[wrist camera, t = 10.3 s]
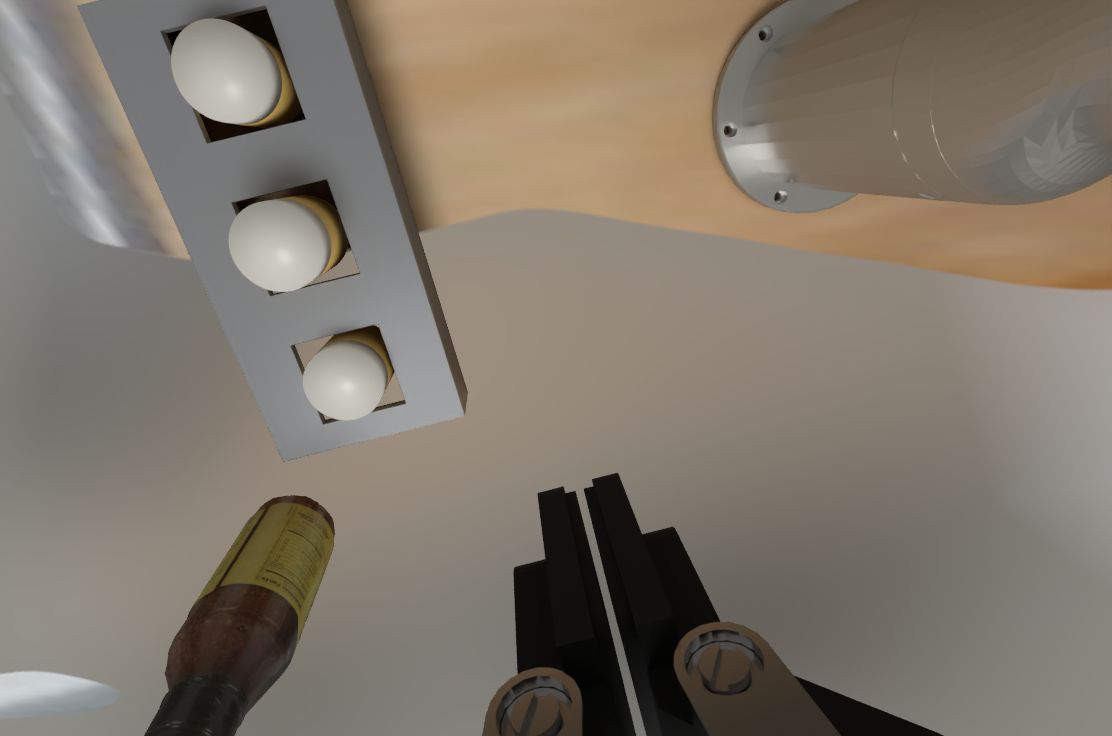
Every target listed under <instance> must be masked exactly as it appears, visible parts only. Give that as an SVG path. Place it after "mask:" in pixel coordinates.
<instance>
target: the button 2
mask: <svg viewBox="0 0 1112 736" xmlns="http://www.w3.org/2000/svg"><path fill="white" fill-rule="evenodd" d="M393 373H394V368H393V365H392V362H391V359H390V356H389V354H388V351H387V348H386V345H385V342H384V339H383V337H382V334H381V331H380V328H379V327H377V326H374V325H371V326H367V327H363V328H359V329H355V330H351V331H347V332H343V333H339V334H335V335H334V336H333V337H332V338H331V339H330V340H329V341H328V342H327V343H326V344H325V345H324V346H323V347H322V348H321V350H320V351H319V352H318V353H317V354H316V355H315V356H314V357H313V358H312V359H311V360H310V362H309V363H308V364H307V366H306V368H305V370H304V374H303V388H304V392H305V395H306V397H307V399H308V400H309V402H310V403H311V404H312V405H313V407H315V408H316V409H317V410H318V411H319V412H321V413H322V414H324V415H326V416H328V417H330V418H334V419H338V420H355V419H359V418H362V417H364V416H366V415H368V414H369V413H371V412H372V411H373V410H374V409H375V408H376V407H377V405H378V404H379V402H380V400H381V398H382V396H383V394H384V392H385V390H386V387H387V385H388V384H389V382H390V380H391V377H392V375H393Z"/></svg>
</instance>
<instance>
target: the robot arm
mask: <svg viewBox="0 0 1112 736" xmlns="http://www.w3.org/2000/svg"><path fill="white" fill-rule="evenodd" d="M759 32H761V33H762V34H763V39H762V41H761V40H760V38H759ZM712 121H713V133H714V141H715V144H716V148H717V152H718V156H719V158H720V160H721V162H722V164H723V167H724V169H725V171H726V173H727V174H728V176H729V177H730V178H731V180H732V181H733V182H734V184H735V185H736V186H737V187H738V188H739V189H740V190H741V191H742V192H743V193H744V194H746V195H747V196H748V197H749V198H750V199H752V200H754V201H756V202H758V203H760V204H761V205H763V206H765V207H768V208H772V209H776V210H779V211H784V212H792V213H810V212H817V211H821V210H825V209H829V208H832V207H835V206H837V205H839V204H841V203H843V202H845V201H848V200H849V199H851V198H852V197H854V196H855V195H857V194H858V193H861V194H872V195H883V196H895V197H906V198H917V199H929V200H940V201H952V202H964V203H976V204H989V205H1023V204H1032V203H1039V202H1044V201H1048V200H1052V199H1056V198H1059V197H1062V196H1065V195H1068V194H1071V193H1074V192H1077V191H1079V190H1082V189H1084V188H1086V187H1089V186H1091V185H1093V184H1095V183H1097V182H1099V181H1101V180H1102V179H1104V178H1106V177H1108V176H1109V175H1111V174H1112V0H789V1H787V2H785V3H783V4H782V5H780V6H778V7H776V8H774V9H773V10H771V11H770V12H768V13H767V14H766V15H764V16H763V17H762V18H760V19H759V20H758V21H756V22H755V23H754V24H753V25H752V26H751V28H750V29H749V30H748V31H747V32H746V33H745V34H744V35H743V36H742V37H741V38H740V40H739V41H738V43H737V44H736V46H735V47H734V49H733V50H732V52H731V53H730V55H729V57H728V59H727V61H726V63H725V66H724V68H723V70H722V72H721V75H720V77H719V81H718V85H717V88H716V92H715V96H714V105H713V116H712ZM725 126H727V127H728V128H729V132H728V134H725V133H724V127H725ZM776 193H777V194H778V198H777V199H776V200H774V196H775V194H776ZM592 482H593V487H589V488H585V489H584V492H585V496H586V500H587V505H588V508H589V512H590V517H591V521H592V524H593V529H594V533H595V536H596V540H597V545H598V549H599V553H600V557H601V560H602V565H603V568H604V573H605V577H606V580H607V585H608V589H609V593H610V597H611V601H612V605H613V609H614V612H615V616H616V620H617V624H618V627H619V632H620V635H621V639H622V643H623V647H624V651H625V655H626V658H627V662H628V666H629V670H630V673H631V677H632V681H633V685H634V689H635V693H636V697H637V700H638V704H639V708H640V712H641V715H642V720H643V723H644V727H645V731H646V735H647V736H943V735H941V734H939V733H937V732H934V731H932V730H929V729H927V728H924V727H922V726H919V725H917V724H914V723H912V722H909V721H907V720H904V719H901V718H899V717H896V716H894V715H891V714H889V713H887V712H884V711H881V710H879V709H877V708H873V707H871V706H869V705H866V704H864V703H861V702H859V701H856V700H854V699H851V698H849V697H846V696H844V695H841V694H839V693H836V692H834V691H831V690H829V689H826V688H824V687H821V686H819V685H816V684H814V683H811V682H809V681H806V680H803V679H801V678H799V677H796V676H794V675H793V674H792V673H791V672H790V670H789V669H788V668H787V666H786V665H785V664H784V663H783V662H782V660H781V659H780V658H779V656H778V655H777V654H776V653H775V651H774V650H773V649H772V647H770V645H769V644H768V642H766V641H765V640H764V639H763V638H762V637H761V636H760V635H759V634H758V633H757V632H755V631H753V630H751V629H749V628H747V627H745V626H743V625H739V624H735V623H731V622H720V620H719V618H718V616H717V614H716V612H715V610H714V608H713V605H712V603H711V601H710V599H709V597H708V595H707V593H706V591H705V589H704V587H703V585H702V583H701V581H700V579H699V577H698V574H697V573H696V570H695V568H694V567H693V564H692V562H691V560H690V558H689V556H688V554H687V552H686V550H685V548H684V546H683V544H682V542H681V540H680V537H679V535H678V534H677V532H676V530H675V528H674V527H670V528H666V529H662V530H658V531H654V532H650V533H646V534H642V533H641V531H640V528H639V526H638V523H637V521H636V518H635V515H634V513H633V510H632V508H631V505H630V502H629V500H628V498H627V495H626V493H625V490H624V487H623V485H622V482H621V480H620V477H619V475H618V473H615V474H611V475H607V476H603V477H599V478H595V479H592ZM538 502H539V509H540V518H541V526H542V534H543V542H544V550H545V559H544V560H541V561H537V562H533V563H529V564H525V565H521V566H517V567H515V568H514V595H515V596H514V597H515V621H516V646H517V670H518V675H516V676H514V677H512V678H510V679H509V680H508V681H507V682H506V683H505V684H504V685H503V686H502V687H500V689H498V691H497V692H496V694H495V695H494V697H493V698H492V700H491V702H490V705H489V707H488V711H487V713H486V717H485V723H484V728H483V734H482V736H636V733H635V729H634V725H633V721H632V717H631V712H630V708H629V704H628V701H627V696H626V692H625V688H624V684H623V679H622V676H621V671H620V667H619V663H618V659H617V655H616V651H615V647H614V642H613V638H612V634H611V630H610V626H609V622H608V618H607V614H606V609H605V606H604V601H603V597H602V593H601V590H600V586H599V582H598V578H597V574H596V570H595V566H594V562H593V558H592V554H591V550H590V547H589V543H588V539H587V535H586V531H585V527H584V523H583V519H582V516H581V511H580V507H579V503H578V500H577V495H576V492H575V491H574V492H569V493H565V490H564V487H560V488H556V489H552V490H548V491H544V492H540V493H538Z"/></svg>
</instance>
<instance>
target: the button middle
mask: <svg viewBox="0 0 1112 736" xmlns="http://www.w3.org/2000/svg"><path fill="white" fill-rule="evenodd" d="M347 247H348V237H347V235H346V232H345V229H344V226H343V223H342V220H341V218H340V215H339V212H338V211H337V210H336V209H335V208H334V207H333V206H332V205H331V204H329V203H328V202H326V201H325V200H323V199H321V198H318V197H315V196H310V195H297V196H291V197H285V198H280V199H274V200H268V201H262V202H257V203H254V204H251V205H249V206H247V207H246V208H245V209H243V210H242V211H241V212H240V213H239V214H238V215H237V216H236V218H235V219H234V221H233V223H232V225H231V228H230V232H229V249H230V253H231V256H232V259H233V261H234V263H235V265H236V266H237V268H238V269H239V270H240V272H241V273H242V274H243V275H244V276H245V277H246V278H247V279H249V280H250V281H251V282H253V283H254V284H256V285H258V286H260V287H262V288H264V289H267V290H271V291H277V292H288V291H294V290H297V289H300V288H302V287H304V286H305V285H307V284H308V283H310V282H311V281H313V280H315V279H316V278H318V277H319V276H321V275H322V274H324V273H325V272H327V271H329V270H330V269H332V268H333V267H335V266H336V265H337V264H338V263H339V262H340V261H341V260H342V258H343V257H344V255H345V253H346V251H347Z"/></svg>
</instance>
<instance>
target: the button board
mask: <svg viewBox="0 0 1112 736" xmlns="http://www.w3.org/2000/svg"><path fill="white" fill-rule="evenodd" d="M77 7H78V9H79V11H80V14H81V16H82V18H83V20H84V23H85V25H86V27H87V29H88V31H89V34H90V36H91V38H92V40H93V42H94V45H95V47H96V49H97V51H98V54H99V56H100V58H101V60H102V62H103V65H104V67H105V69H106V71H107V73H108V76H109V78H110V80H111V82H112V85H113V87H114V89H115V91H116V93H117V96H118V98H119V100H120V102H121V104H122V107H123V109H124V111H125V113H126V116H127V118H128V120H129V122H130V124H131V127H132V129H133V131H134V133H135V135H136V138H137V140H138V142H139V144H140V147H141V149H142V151H143V153H144V155H145V158H146V160H147V162H148V164H149V166H150V169H151V171H152V173H153V175H154V177H155V180H156V182H157V184H158V186H159V189H160V191H161V193H162V195H163V197H164V200H165V202H166V204H167V206H168V208H169V211H170V213H171V215H172V217H173V220H174V222H175V224H176V226H177V228H178V231H179V233H180V235H181V237H182V239H183V242H184V244H185V246H186V248H187V251H188V253H189V255H190V257H191V259H192V262H193V264H194V266H195V268H196V270H197V273H198V275H199V277H200V279H201V281H202V284H203V286H204V288H205V290H206V292H207V295H208V297H209V299H210V301H211V304H212V306H213V308H214V310H215V312H216V315H217V317H218V319H219V321H220V323H221V326H222V328H223V330H224V332H225V335H226V337H227V339H228V341H229V343H230V345H231V348H232V350H233V352H234V354H235V357H236V359H237V361H238V363H239V365H240V368H241V370H242V372H243V374H244V377H245V379H246V381H247V383H248V385H249V388H250V390H251V392H252V394H253V397H254V399H255V401H256V403H257V405H258V408H259V410H260V412H261V414H262V416H263V419H264V421H265V423H266V425H267V428H268V430H269V432H270V434H271V436H272V439H273V441H274V443H275V445H276V448H277V450H278V452H279V454H280V456H281V459H282V461H283V462H285V461H289V460H292V459H297V458H301V457H305V456H309V455H312V454H317V453H320V452H324V451H328V450H332V449H336V448H340V447H344V446H348V445H352V444H356V443H360V442H364V441H368V440H372V439H375V438H380V437H384V436H388V435H392V434H396V433H400V432H403V431H408V430H411V429H416V428H419V427H423V426H427V425H431V424H435V423H439V422H443V421H447V420H451V419H454V418H459V417H463V416H465V410H466V402H467V394H468V392H467V388H466V385H465V382H464V379H463V376H462V372H461V369H460V366H459V363H458V359H457V356H456V353H455V350H454V346H453V343H452V340H451V337H450V333H449V330H448V327H447V324H446V321H445V318H444V314H443V311H442V308H441V304H440V301H439V298H438V295H437V291H436V288H435V285H434V282H433V279H432V275H431V272H430V269H429V266H428V262H427V259H426V256H425V253H424V249H423V246H422V243H421V240H420V236H419V233H418V230H417V227H416V224H415V220H414V217H413V214H412V211H411V207H410V204H409V201H408V198H407V194H406V191H405V188H404V185H403V182H402V178H401V175H400V172H399V169H398V165H397V162H396V159H395V156H394V152H393V149H392V146H391V143H390V140H389V136H388V133H387V130H386V127H385V123H384V120H383V117H382V114H381V110H380V107H379V104H378V101H377V97H376V94H375V91H374V88H373V85H372V81H371V78H370V75H369V72H368V68H367V65H366V62H365V59H364V55H363V52H362V49H361V46H360V43H359V39H358V36H357V33H356V30H355V26H354V23H353V20H352V17H351V13H350V10H349V7H348V4H347V1H346V0H99V1H95V2H91V3H87V4H83V5H78V6H77ZM264 9H267V11H268V13H269V16H270V19H271V22H272V25H273V28H274V30H275V33H276V36H277V39H278V42H279V45H280V47H281V50H282V53H283V56H284V59H285V62H286V64H287V67H288V70H289V73H290V76H291V79H292V81H293V84H294V87H295V90H296V93H297V96H298V98H299V101H300V104H301V107H302V110H303V113H304V115H305V118H306V119H305V120H301V121H297V122H293V123H289V124H285V125H281V126H277V127H273V128H269V129H265V130H261V131H256V132H252V133H248V134H244V135H240V136H236V137H232V138H228V139H224V140H220V141H216V142H212V143H211V141H210V138H209V136H208V133H207V131H206V128H205V126H204V123H203V121H202V119H201V116H200V114H199V112H198V111H197V110H196V109H194V108H193V107H192V106H191V105H190V104H189V103H188V102H187V101H186V99H185V98H184V97H183V96H182V94H181V92H180V91H179V89H178V87H177V85H176V83H175V80H174V77H173V73H172V67H171V54H172V49H173V48H172V46H171V43H170V41H169V38H168V36H167V33H170V32H174V31H178V30H182V29H184V28H185V27H187V26H188V25H190V24H191V23H193V22H195V21H198V20H202V19H211V18H214V19H222V20H223V19H227V18H231V17H235V16H240V15H244V14H248V13H252V12H256V11H260V10H264ZM326 179H327V181H328V184H329V186H330V189H331V192H332V195H333V198H334V201H335V203H336V206H337V209H338V212H339V215H340V218H341V220H342V223H343V226H344V229H345V232H346V235H347V237H348V240H349V243H350V246H351V249H352V252H353V254H354V257H355V260H356V263H357V265H358V268H359V271H360V273H357V274H353V275H348V276H345V277H340V278H337V279H333V280H328V281H325V282H321V283H316V284H312V285H308V286H304V287H302V288H300V289H297V290H294V291H288V292H280V293H276V294H273V291H271V290H267V289H264V288H262V287H260V286H258V285H256V284H254V283H253V282H251V281H250V280H249V279H247V278H246V277H245V276H244V275H243V274H242V273H241V272H240V270H239V269H238V268H237V266H236V265H235V263H234V261H233V259H232V256H231V253H230V249H229V232H230V228H231V225H232V223H233V221H234V219H235V218H236V216H237V215H238V214H239V213H240V211H239V209H238V206H237V204H236V202H237V201H241V200H245V199H249V198H254V197H258V196H262V195H266V194H270V193H274V192H278V191H282V190H286V189H290V188H294V187H298V186H302V185H306V184H310V183H314V182H318V181H322V180H326ZM375 324H378V325H379V328H380V331H381V334H382V337H383V339H384V342H385V345H386V348H387V351H388V354H389V356H390V359H391V362H392V365H393V368H394V371H395V373H396V376H397V379H398V382H399V385H400V388H401V390H402V393H403V396H404V399H405V400H403V401H399V402H395V403H392V404H387V405H384V406H379V407H376V408H375V409H374V410H373V411H372V412H371V413H369V414H368V415H366V416H364V417H362V418H359V419H355V420H338V419H334V418H332V419H328V420H325V419H324V416H323V414H322V413H321V412H319V411H318V410H317V409H316V408H315V407H313V405H312V404H311V403H310V402H309V400H308V399H307V397H306V395H305V392H304V388H303V374H304V370H305V369H304V367H303V365H302V362H301V360H300V358H299V355H298V353H297V350H296V347H295V344H299V343H302V342H307V341H311V340H315V339H319V338H322V337H327V336H331V335H335V334H339V333H343V332H347V331H351V330H355V329H359V328H363V327H367V326H371V325H375Z"/></svg>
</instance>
